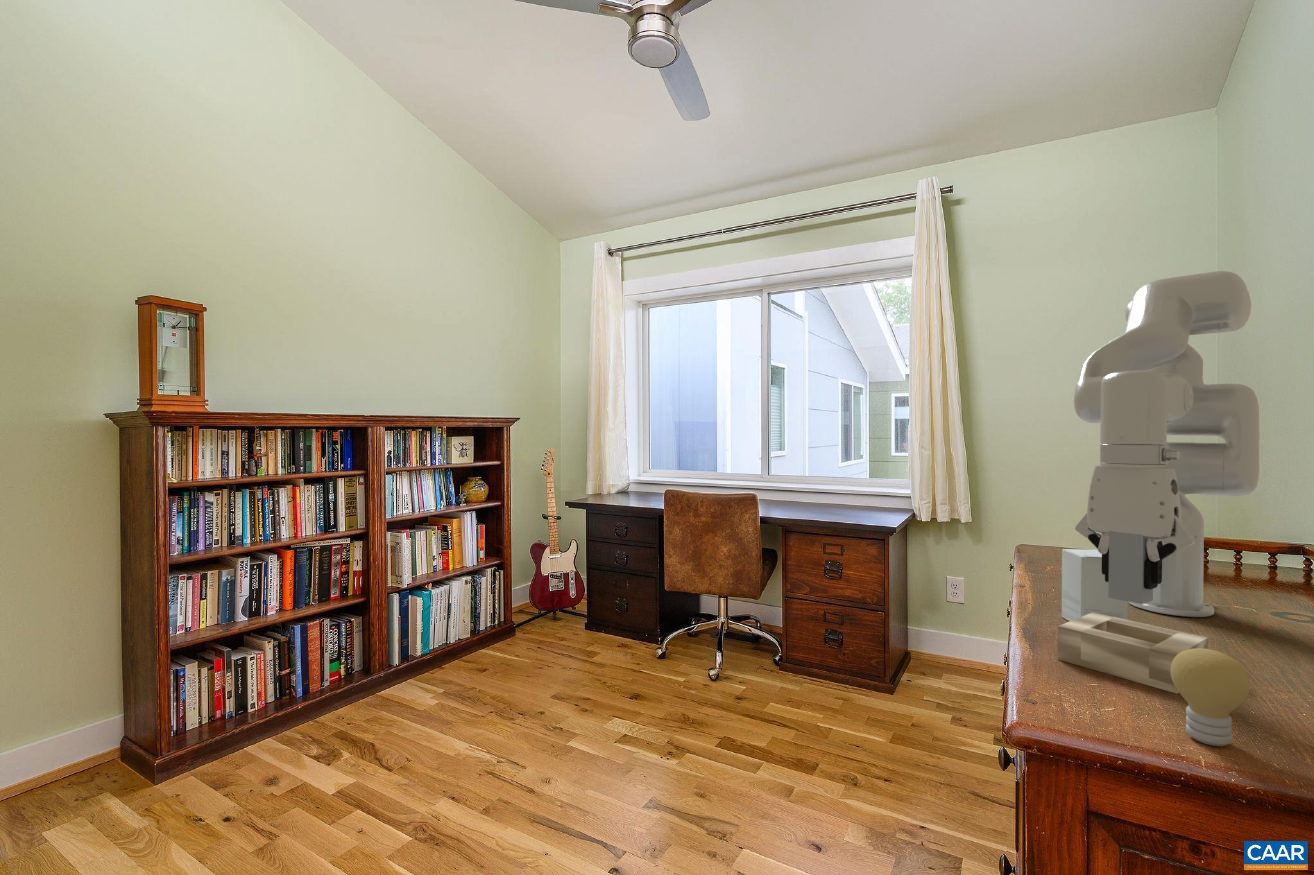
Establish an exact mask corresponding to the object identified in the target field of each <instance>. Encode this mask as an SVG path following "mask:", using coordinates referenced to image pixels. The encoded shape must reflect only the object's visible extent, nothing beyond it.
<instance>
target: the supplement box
mask: <svg viewBox="0 0 1314 875" xmlns="http://www.w3.org/2000/svg"><path fill="white" fill-rule="evenodd" d="M1061 555H1062V556H1061V617H1062V618H1063V619H1065V620H1066V621H1067V622H1070V621H1072V620H1075V619H1077V618H1080V617H1082V616H1085V615H1087V614H1090V613H1092V612H1094V613H1098V614H1103V615H1108V616H1112V617H1117V618H1121V619H1126V620H1129V619H1128V618H1129V617H1128V616H1129V615H1128V614H1129V613H1128V612H1129V608H1128V606H1129V605H1128V604H1129V602H1128V601H1123V600H1118V599H1112V598H1108V591H1109V582H1105V575H1103V574H1102V554H1101V553H1099V551H1098V549H1080V548H1079V549H1075V548H1073V549H1072V548H1070V549H1069V548H1068V549H1067V548H1062V550H1061Z"/></svg>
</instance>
